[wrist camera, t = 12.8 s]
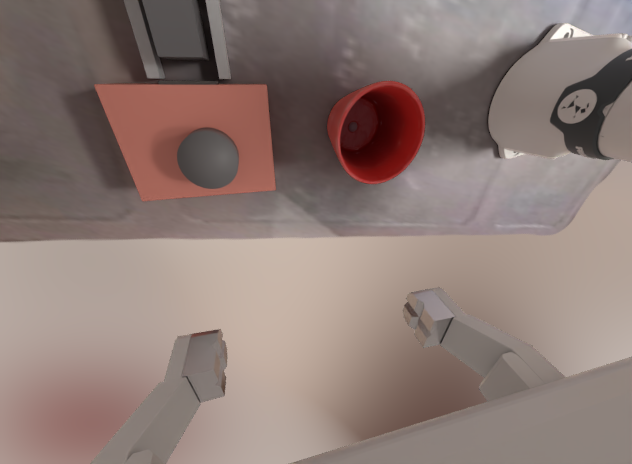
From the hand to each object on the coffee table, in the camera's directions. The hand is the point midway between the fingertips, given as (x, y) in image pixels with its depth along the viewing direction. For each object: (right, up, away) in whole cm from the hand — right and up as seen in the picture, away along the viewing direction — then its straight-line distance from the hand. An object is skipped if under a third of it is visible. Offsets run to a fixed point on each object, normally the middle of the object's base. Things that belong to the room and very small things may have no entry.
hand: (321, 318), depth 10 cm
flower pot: (+5, +19, +25) cm, 32 cm away
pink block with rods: (-14, +20, +18) cm, 31 cm away
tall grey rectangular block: (-14, +26, +15) cm, 33 cm away
